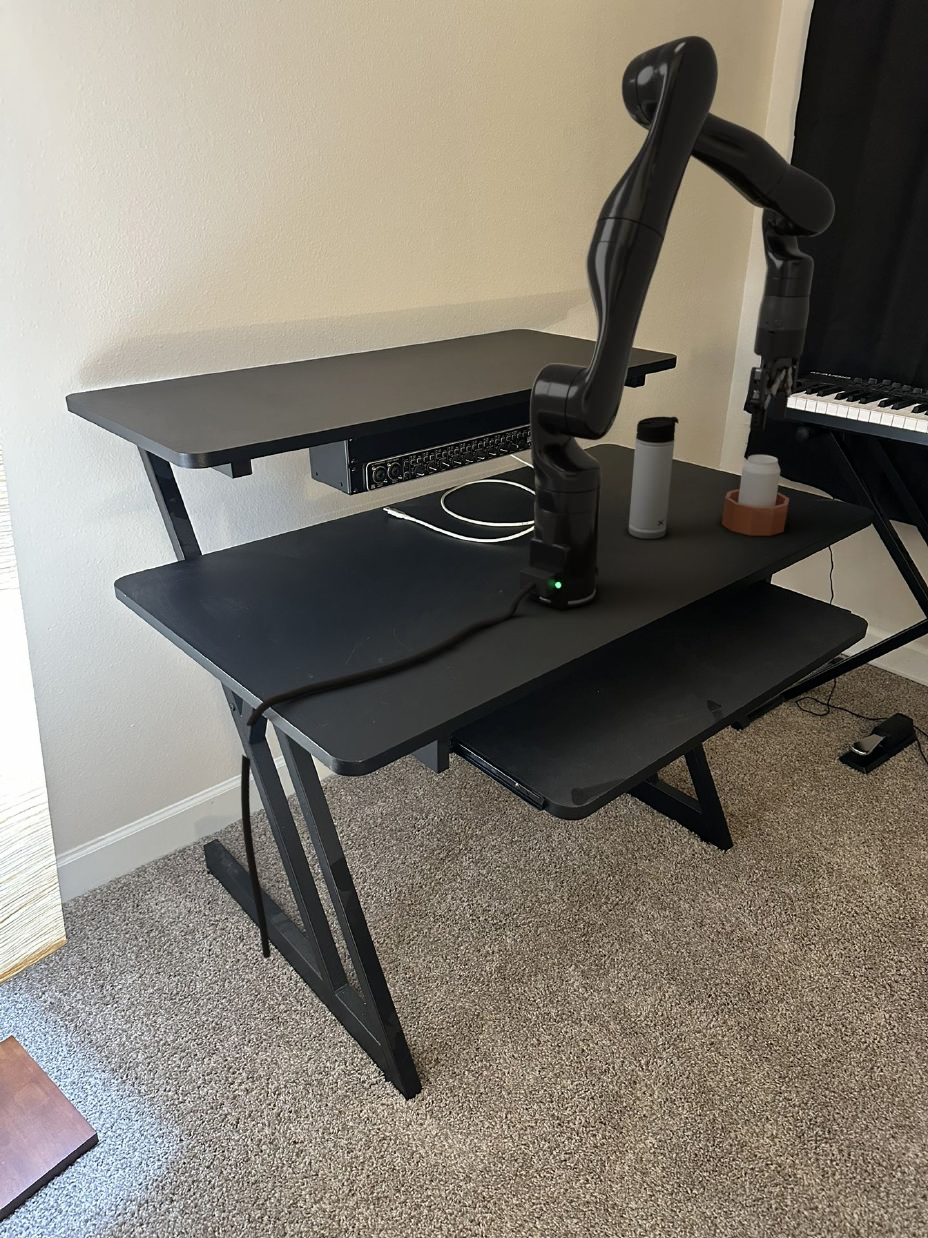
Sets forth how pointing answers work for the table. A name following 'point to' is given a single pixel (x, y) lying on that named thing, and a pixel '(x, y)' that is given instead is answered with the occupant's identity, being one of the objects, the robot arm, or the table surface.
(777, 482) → the beverage can
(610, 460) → the table surface
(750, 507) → the holder
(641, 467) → the travel mug
